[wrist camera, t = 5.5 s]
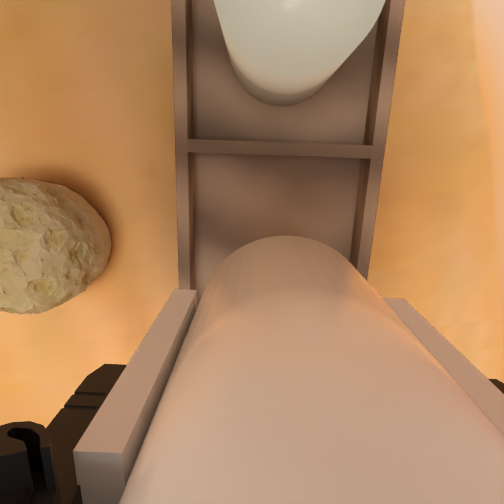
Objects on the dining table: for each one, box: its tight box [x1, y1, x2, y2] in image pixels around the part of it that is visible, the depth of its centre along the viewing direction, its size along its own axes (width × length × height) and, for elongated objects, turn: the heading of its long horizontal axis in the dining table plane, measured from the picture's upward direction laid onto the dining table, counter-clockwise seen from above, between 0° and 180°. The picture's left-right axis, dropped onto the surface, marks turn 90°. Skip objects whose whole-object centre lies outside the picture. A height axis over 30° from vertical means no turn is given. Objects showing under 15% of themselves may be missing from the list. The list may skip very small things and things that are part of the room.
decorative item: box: [0, 178, 111, 314], centre depth 23 cm, size 10×10×10 cm
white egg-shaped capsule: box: [214, 0, 385, 106], centre depth 17 cm, size 7×7×9 cm
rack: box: [171, 0, 405, 307], centre depth 23 cm, size 26×13×3 cm, turn 178°
